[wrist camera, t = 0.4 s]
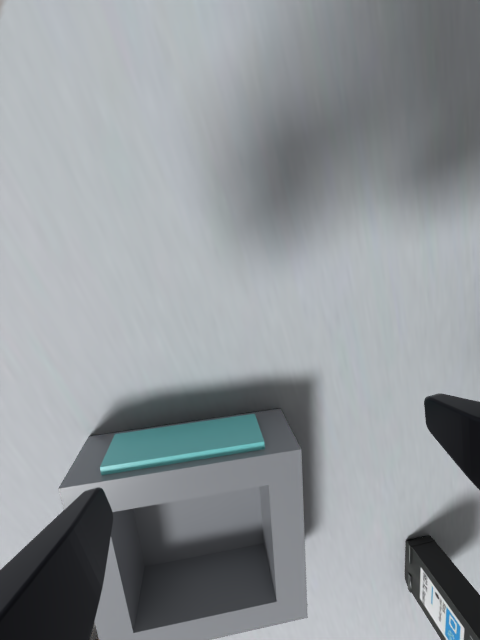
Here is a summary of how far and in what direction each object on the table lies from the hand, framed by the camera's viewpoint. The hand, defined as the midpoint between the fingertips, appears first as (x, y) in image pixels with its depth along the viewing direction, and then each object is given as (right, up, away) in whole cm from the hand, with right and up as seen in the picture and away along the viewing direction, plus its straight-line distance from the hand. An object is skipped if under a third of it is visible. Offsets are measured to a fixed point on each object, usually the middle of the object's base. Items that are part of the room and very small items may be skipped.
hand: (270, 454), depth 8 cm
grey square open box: (-4, -10, +14) cm, 17 cm away
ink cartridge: (+15, -17, +19) cm, 29 cm away
